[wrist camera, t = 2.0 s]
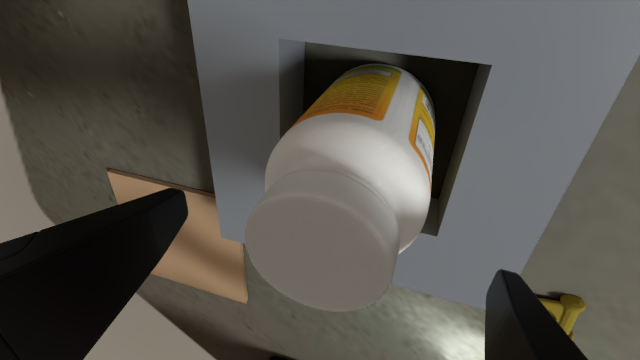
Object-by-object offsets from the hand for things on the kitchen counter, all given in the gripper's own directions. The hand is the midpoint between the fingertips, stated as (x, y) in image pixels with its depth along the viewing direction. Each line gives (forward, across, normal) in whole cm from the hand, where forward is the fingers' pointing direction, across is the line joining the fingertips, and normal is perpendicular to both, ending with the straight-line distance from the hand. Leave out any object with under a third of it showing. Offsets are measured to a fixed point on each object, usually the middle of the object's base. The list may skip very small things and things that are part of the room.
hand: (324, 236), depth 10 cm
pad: (+9, +13, +12) cm, 20 cm away
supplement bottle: (+9, 0, 0) cm, 9 cm away
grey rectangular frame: (+9, 0, 0) cm, 9 cm away
